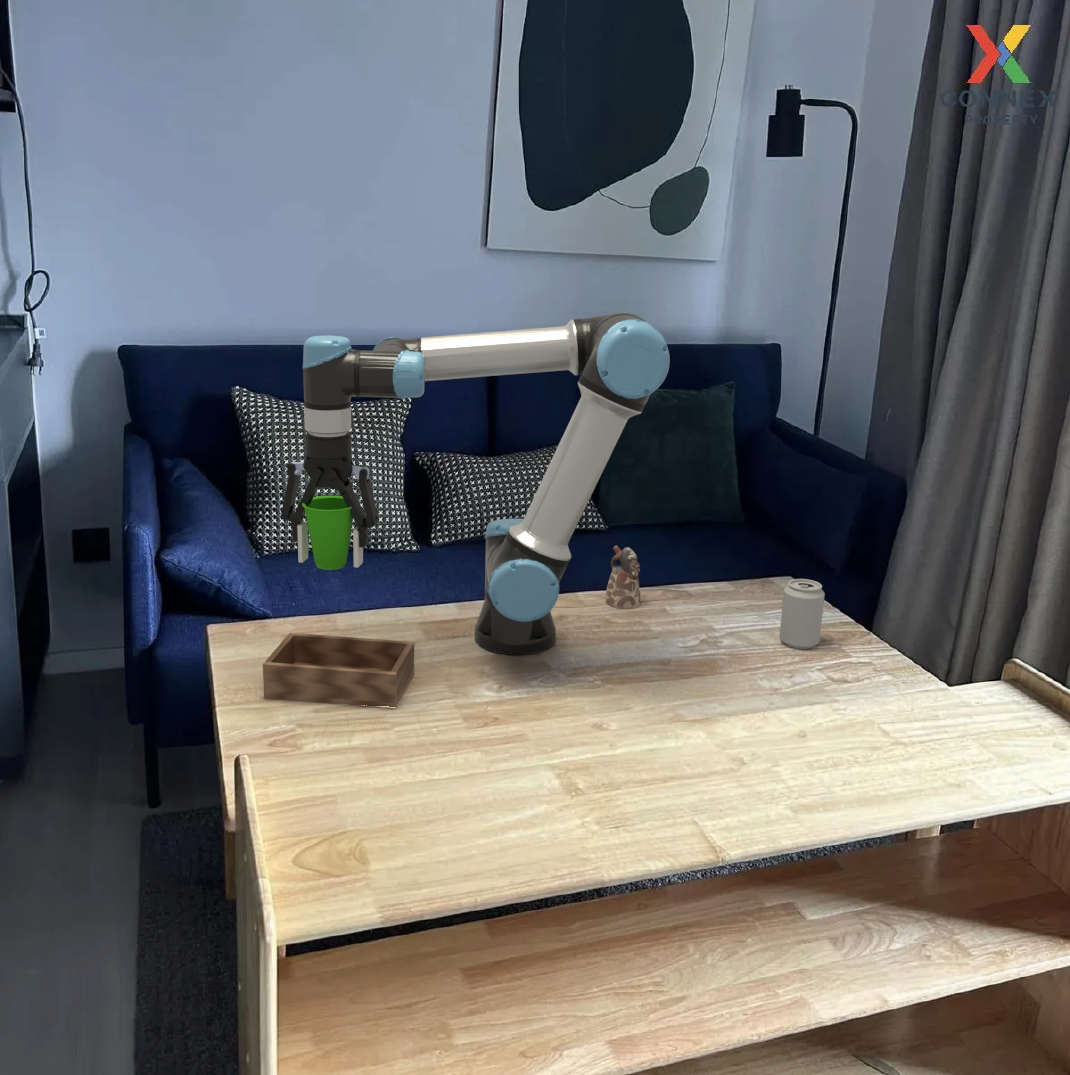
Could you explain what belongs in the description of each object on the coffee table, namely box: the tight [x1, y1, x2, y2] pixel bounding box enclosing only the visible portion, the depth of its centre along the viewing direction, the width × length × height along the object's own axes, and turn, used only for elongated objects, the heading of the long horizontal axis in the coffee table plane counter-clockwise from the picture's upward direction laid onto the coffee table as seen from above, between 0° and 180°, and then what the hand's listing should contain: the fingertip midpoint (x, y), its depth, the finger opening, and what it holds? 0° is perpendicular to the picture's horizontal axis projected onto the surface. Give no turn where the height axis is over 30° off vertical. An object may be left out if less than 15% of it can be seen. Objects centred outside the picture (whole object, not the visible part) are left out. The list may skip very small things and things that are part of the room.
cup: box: [302, 495, 354, 571], centre depth 198 cm, size 9×9×11 cm
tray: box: [262, 632, 415, 708], centre depth 198 cm, size 22×14×6 cm, turn 83°
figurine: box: [605, 545, 641, 610], centre depth 240 cm, size 7×7×12 cm
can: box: [778, 578, 826, 650], centre depth 222 cm, size 8×8×12 cm
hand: (330, 562), depth 200 cm, fingers closed on cup, 9 cm apart
